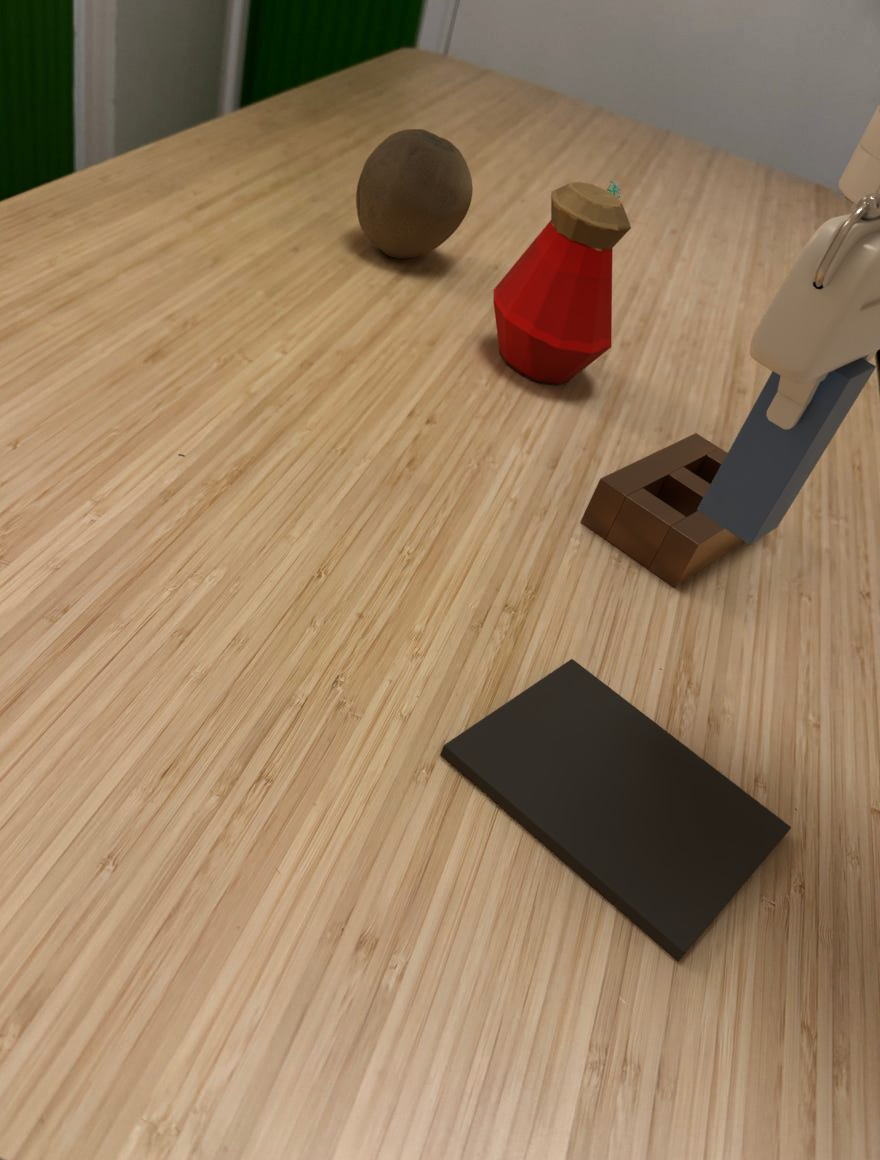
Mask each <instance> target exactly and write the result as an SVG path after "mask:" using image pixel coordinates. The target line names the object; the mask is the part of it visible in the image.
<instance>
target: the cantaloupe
mask: <svg viewBox="0 0 880 1160" xmlns="http://www.w3.org/2000/svg"><path fill="white" fill-rule="evenodd" d="M356 185H357V186H356V195H355V205H356V206H355V207H356V215H357V220H358V223H359V226H360V228H361V231H362V232H363V234H364V235H365V236H366V238H367V239H368V241H370V242H371V243H372V244H373V245H375V246H376V247H377V248H378V249H379V250H380V251H382V253H383V254H385V255H386V256H389V257H390V258H394V259H409V258H416V257H420V256H423V255H426V254H428V253H431V252H432V251H434V250H435V249H437V248H439V247H440V246H441V245H442V244H444V243H445V242H446V241H447V240H449V238H450V237H451V236H452V235H453V234H454V233H455V232H456V231H457V230H458V229H459V227H460V226H461V224H462V223H463V221H464V219H465V217H466V216H467V214H468V212H469V209H470V206H471V204H472V199H473V189H474V188H473V179H472V174H471V171H470V168H469V165H468V164H467V161H466V159H465V157H464V155H463V154H462V152H461V150H460V149H459V148H458V147H457V146H456V145H454V144H453V143H452V142H451V141H449V140H448V139H447V138H443V137H441V136H438V135H437V134H435V133H433V132H430V131H428V130H426V129H421V128H417V129H416V128H410V129H409V128H408V129H403V130H399V131H397V132H393V133H392V134H390V135H388V137H386V138H385V139H384V140H383V141H381V142H380V143H379V144H378V145H377V146H376V147H375V148H374V149H373V151H372V152H371V153H370V154H369V156H368V157H367V159H366V160H365V162H364V164H363V166H362V170H361V172H360V176H359V178H358V182H357V184H356Z"/></svg>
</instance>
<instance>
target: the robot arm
mask: <svg viewBox="0 0 880 1160" xmlns="http://www.w3.org/2000/svg"><path fill="white" fill-rule="evenodd" d="M837 185H838V190H839V191H840V192H841V193H842V194H843V195H844V196H845V197H846V198H847V199H848V200H849V201H851V203H853V204H852V206H851V207H850V210H849V211H848V213H847V214H844V215H843V214H842V215H838V216H834V217H832V218H828V219H827V220H826V221H824V222H823V223H822V224H821V225H820V226H819V227H818V228H817V229H816V230H815V231H814V233H813V234H812V235H811V236H810V238H809V239H808V240H807V242H806V243H805V245H804V246H803V248H802V249H801V250H800V252H799V254H798V256H797V257H796V259H795V261H794V262H793V263H792V266H791V267H790V268H789V271H788V272H787V274H786V276H785V277H784V279H783V281H782V283H781V284H780V286H779V287H778V289H777V291H776V292H775V294H774V296H773V298H772V299H771V301H770V303H769V305H768V306H767V308H766V310H765V311H764V313H763V315H762V317H761V319H760V320H759V323H758V324H757V326H756V328H755V330H754V332H753V335H752V338H751V342H750V348H749V356H750V357H751V358H752V359H753V360H754V361H755V362H756V363H758V364H759V365H762V366H763V367H765V368H766V369H768V370H770V371H771V372H772V371H773V372H775V373H777V374H779V375H780V381H779V386H778V392H777V394H776V395H775V397H774V399H773V401H772V403H771V405H770V406H769V408H768V410H767V415H766V416H767V418H768V420H769V421H771V422H773V423H774V424H776V425H777V426H779V427H781V428H782V429H785V430H787V429H791V428H792V427H794V426H796V425H798V424H799V423H801V422H802V421H803V419H804V418H805V415H806V414H807V412H808V411H809V409H810V407H811V406H812V404H813V402H814V401H812V400H811V399H812V397H813V395H814V393H815V391H816V389H817V387H818V385H819V383H820V381H823V380H824V379H825V378H826V376H827V375H828V373H829V372H831V371H833V370H836V369H838V368H840V367H842V366H844V365H846V364H849V363H851V362H853V361H855V360H857V359H860V358H862V359H864V360H866V361H868V362H869V363H871V361H872V360H873V358H874V357H875V355H876V354H877V352H878V351H879V350H880V103H878V106H877V107H876V110H875V111H874V113H873V115H872V117H871V119H870V121H869V123H868V124H867V127H866V129H865V131H864V132H863V134H862V136H861V138H860V141H859V142H858V144H857V146H856V148H855V150H854V151H853V154H852V156H851V157H850V159H849V161H848V163H847V165H846V166H845V168H844V171H843V172H842V175H841V177H840V179H839V180H838V184H837Z"/></svg>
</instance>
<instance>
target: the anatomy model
mask: <svg viewBox="0 0 880 1160" xmlns="http://www.w3.org/2000/svg"><path fill="white" fill-rule="evenodd" d="M583 182H584V181H583ZM584 183H586V182H584ZM611 184H613V185H611ZM606 190H607V191H608V192H610V193H612V194H613V195H615V196H616V195H617V194H619V195H617V196H616V197H617V198H618V199H619V200H620V199H621V193H620V192H619V191H621V190H622V189H621V187H619V186H617V184H616V183H615V182H614V181H613V180H612V179H611V180H610V184H609V186H608V188H606Z"/></svg>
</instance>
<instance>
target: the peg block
mask: <svg viewBox="0 0 880 1160" xmlns="http://www.w3.org/2000/svg"><path fill="white" fill-rule="evenodd" d="M727 454H728V452H727V451H726V450H724V449H722V448H721V447H719V446H718V445H716V444H714V443H713V442H711V441H709V439H706V438H705V437H704V436H702V435H700V434H698V433H697V432H695V433H693V434H691V435H688V436H687V437H684V438H682V439H680V440H678V441H676V442H674V443H672V444H670V445H668V446H665V447H663V448H661V449H659V450H657V451H655V452H653V453H651V454H649V455H647V456H645V457H642V458H641V459H639V460H637V461H634V462H632V463H630V464H628V465H626V466H624V467H621V468H620V469H617V470H616V471H613V472H611V473H609V474H607V475H604V476H602V477H601V478H600V479H599V480H598V483H597V485H596V486H595V488H594V491H593V494H592V496H591V498H590V499H589V501H588V504H587V506H586V508H585V511H584V513H583V515H582V517H581V520H580V523H581V524H582V525H584V526H585V527H587V528H588V529H589V530H591V531H592V532H594V533H595V534H596V535H598V536H599V537H601V538H602V539H604V540H606V541H607V542H608V543H610V544H611V545H613V546H614V547H616V548H617V549H619V550H620V551H621V552H623V553H624V554H626V555H627V556H629V557H630V558H631V559H633V560H634V561H636V562H637V563H639V564H640V565H641V566H643V567H644V568H646V569H647V570H648V571H650V572H651V573H653V574H654V575H655V576H657V577H658V578H660V579H661V580H663V581H664V582H665V583H667V584H668V585H670V586H671V587H672V588H677V587H679V585H681V584H682V583H684V582H685V581H687V580H688V579H689V578H692V577H693V576H694V575H696V574H697V573H699V572H700V571H701V570H703V569H704V568H706V567H708V566H709V565H710V564H712V563H714V562H715V561H717V560H718V559H720V558H721V557H723V556H724V555H725V554H727V553H728V552H730V551H732V550H733V549H735V548H736V547H738V546H739V545H740V544H742V543H743V542H744V541H743V540H741V539H740V538H738V537H737V536H735V535H734V534H732V533H731V532H729V531H728V530H726V529H725V528H723V527H722V526H720V525H719V524H717V523H716V522H714V521H713V520H711V519H710V518H708V517H707V516H705V515H704V514H702V513H701V512H699V511H698V510H697V509H698V507H699V505H700V503H701V501H702V499H703V498H704V496H705V494H706V492H707V490H708V488H709V487H710V485H711V483H712V481H713V479H714V477H715V476H716V474H717V472H718V470H719V468H720V466H721V465H722V463H723V461H724V459H725V457H726V455H727Z"/></svg>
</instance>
